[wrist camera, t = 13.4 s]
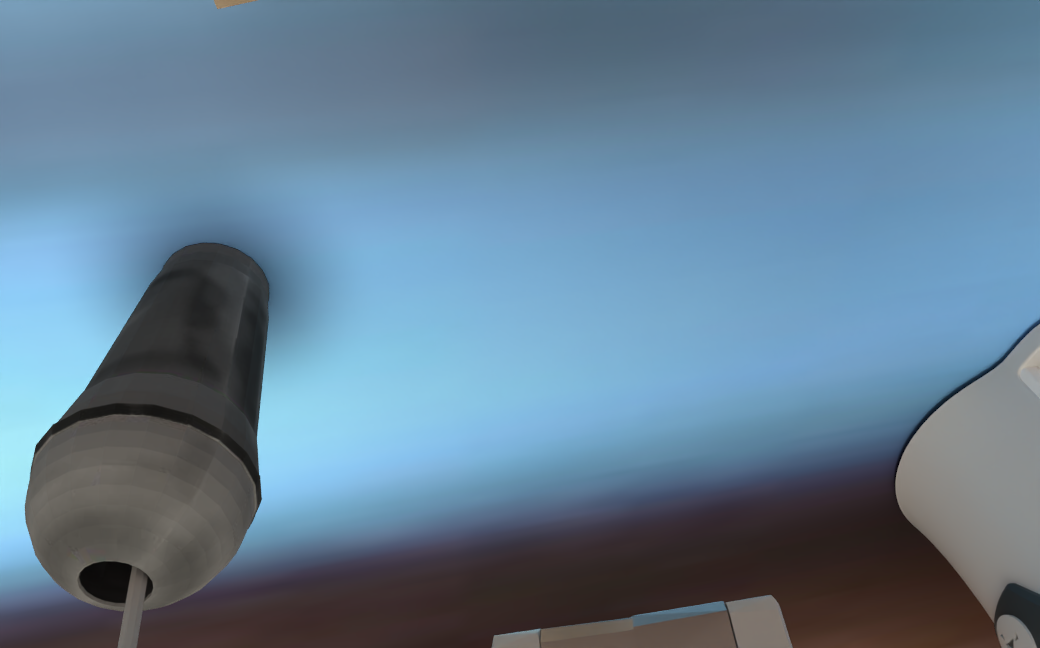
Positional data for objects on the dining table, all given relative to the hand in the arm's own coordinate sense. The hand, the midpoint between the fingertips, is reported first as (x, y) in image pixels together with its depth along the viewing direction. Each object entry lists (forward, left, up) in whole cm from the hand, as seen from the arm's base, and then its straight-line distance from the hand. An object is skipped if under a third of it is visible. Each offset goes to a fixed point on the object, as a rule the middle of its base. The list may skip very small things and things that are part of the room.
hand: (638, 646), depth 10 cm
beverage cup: (+15, +11, -28) cm, 34 cm away
